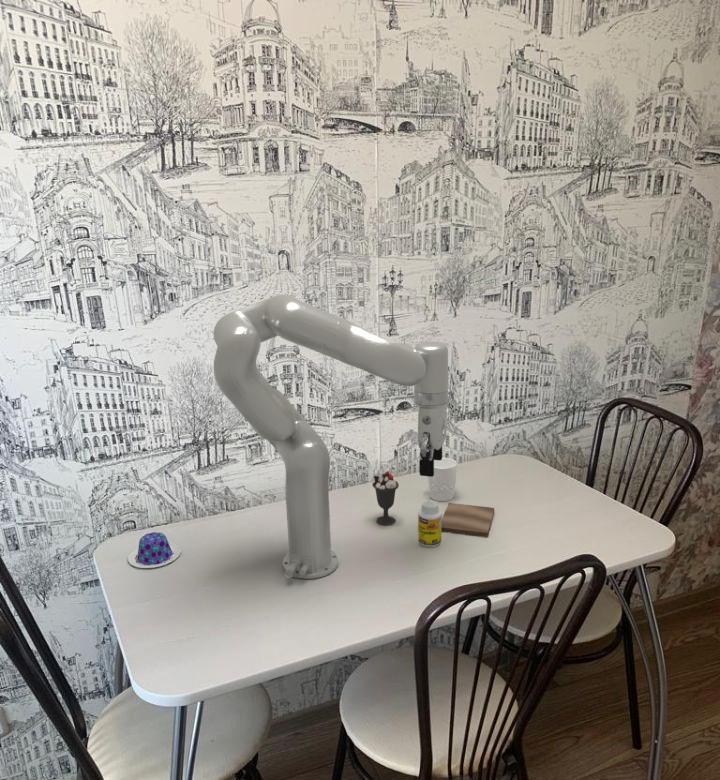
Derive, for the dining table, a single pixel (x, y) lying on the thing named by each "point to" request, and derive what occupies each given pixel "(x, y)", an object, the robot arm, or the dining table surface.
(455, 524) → the walnut board
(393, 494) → the sundae
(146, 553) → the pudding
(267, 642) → the dining table surface
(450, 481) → the white cup
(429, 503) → the supplement bottle
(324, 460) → the robot arm
